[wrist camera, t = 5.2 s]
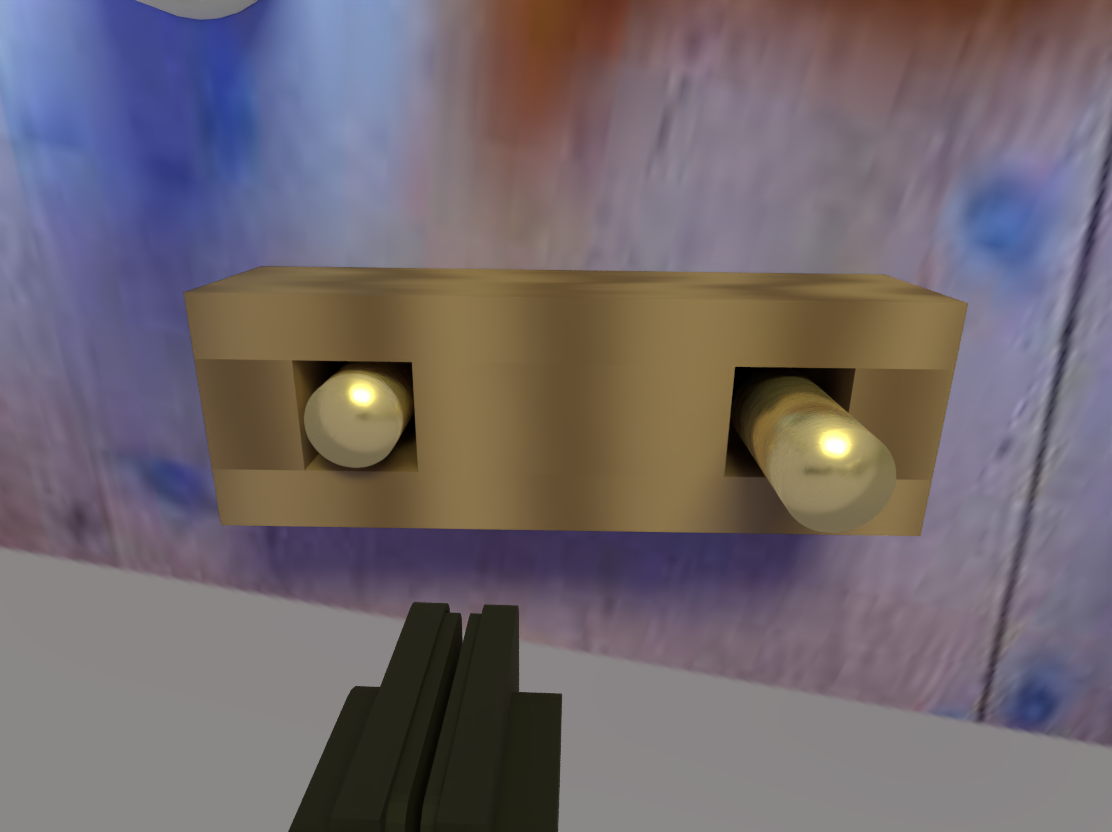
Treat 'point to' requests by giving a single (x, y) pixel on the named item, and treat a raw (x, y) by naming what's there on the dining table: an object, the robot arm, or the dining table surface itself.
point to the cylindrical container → (200, 7)
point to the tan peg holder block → (559, 393)
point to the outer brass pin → (361, 412)
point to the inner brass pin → (813, 451)
